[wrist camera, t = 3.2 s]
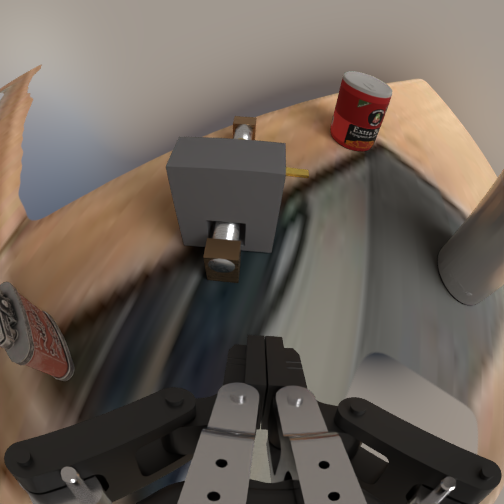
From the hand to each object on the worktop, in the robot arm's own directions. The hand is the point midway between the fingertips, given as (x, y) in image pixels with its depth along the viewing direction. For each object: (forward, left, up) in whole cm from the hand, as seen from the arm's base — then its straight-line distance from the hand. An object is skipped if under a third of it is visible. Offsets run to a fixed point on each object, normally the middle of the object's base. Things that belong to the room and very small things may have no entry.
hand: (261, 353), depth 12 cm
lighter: (+15, -13, -13) cm, 24 cm away
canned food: (-35, -20, -13) cm, 42 cm away
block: (-7, -14, -12) cm, 20 cm away
